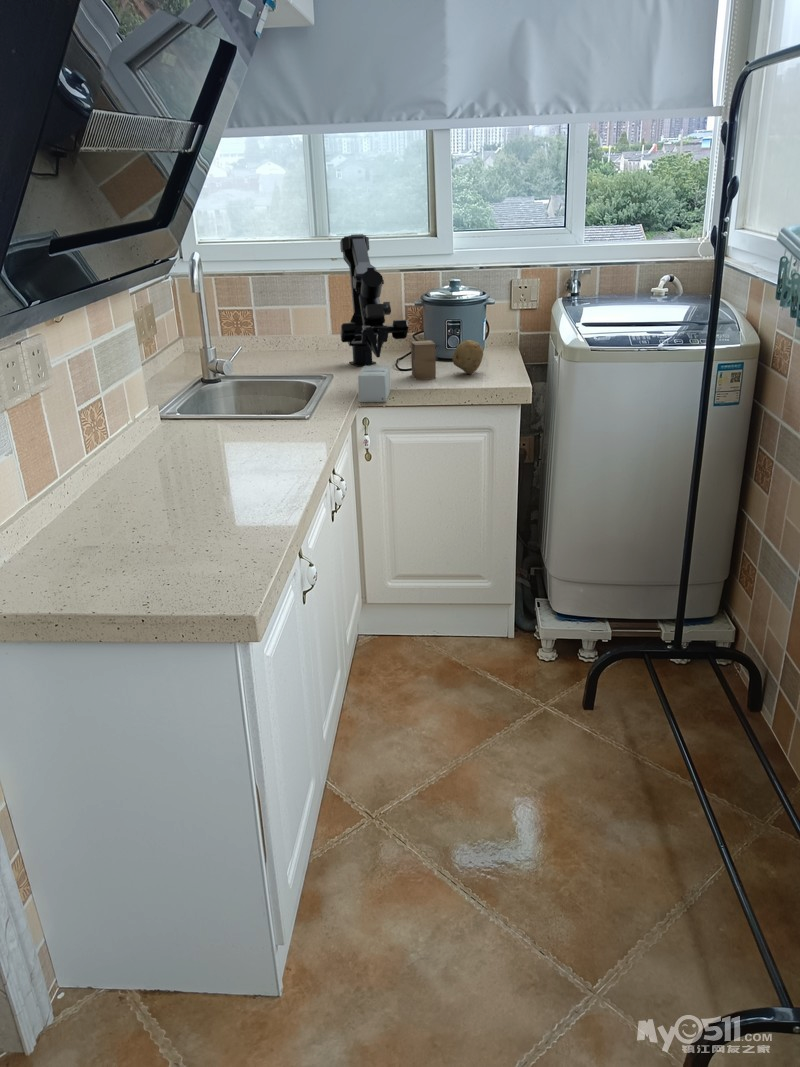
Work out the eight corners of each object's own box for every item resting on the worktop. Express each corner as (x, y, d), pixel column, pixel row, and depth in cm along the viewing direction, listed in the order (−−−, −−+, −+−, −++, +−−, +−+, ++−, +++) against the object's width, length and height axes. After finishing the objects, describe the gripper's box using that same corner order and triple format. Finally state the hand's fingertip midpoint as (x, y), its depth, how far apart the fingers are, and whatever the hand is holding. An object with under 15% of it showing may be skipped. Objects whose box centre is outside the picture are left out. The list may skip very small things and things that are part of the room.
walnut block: (411, 375, 250) (411, 341, 246) (431, 373, 251) (430, 340, 247) (415, 379, 245) (415, 345, 241) (435, 378, 246) (435, 344, 242)
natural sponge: (451, 377, 246) (451, 343, 242) (453, 370, 254) (453, 337, 250) (482, 377, 245) (483, 343, 241) (483, 370, 253) (483, 337, 249)
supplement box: (390, 364, 229) (385, 375, 218) (390, 391, 232) (386, 403, 221) (363, 364, 230) (357, 375, 219) (364, 391, 233) (358, 403, 222)
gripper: (339, 293, 228) (346, 341, 223) (406, 290, 231) (415, 337, 226) (337, 318, 238) (344, 364, 233) (402, 314, 241) (410, 360, 236)
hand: (378, 356), depth 232 cm, fingers closed
